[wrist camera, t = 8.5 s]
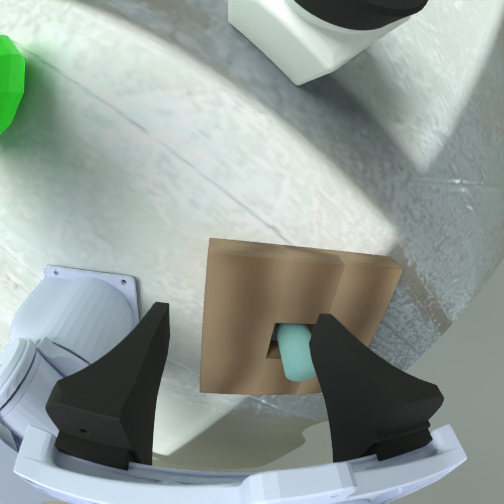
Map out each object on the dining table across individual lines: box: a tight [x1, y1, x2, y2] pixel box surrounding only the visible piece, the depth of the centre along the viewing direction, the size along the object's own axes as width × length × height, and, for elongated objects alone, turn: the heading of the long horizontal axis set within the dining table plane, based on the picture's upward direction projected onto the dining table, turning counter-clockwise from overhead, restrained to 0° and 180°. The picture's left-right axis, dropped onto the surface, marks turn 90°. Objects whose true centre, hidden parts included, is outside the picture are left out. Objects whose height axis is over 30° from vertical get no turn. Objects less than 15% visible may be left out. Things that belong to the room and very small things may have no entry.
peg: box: [274, 323, 316, 382], centre depth 24 cm, size 3×3×6 cm
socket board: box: [200, 238, 403, 395], centre depth 25 cm, size 16×16×2 cm
